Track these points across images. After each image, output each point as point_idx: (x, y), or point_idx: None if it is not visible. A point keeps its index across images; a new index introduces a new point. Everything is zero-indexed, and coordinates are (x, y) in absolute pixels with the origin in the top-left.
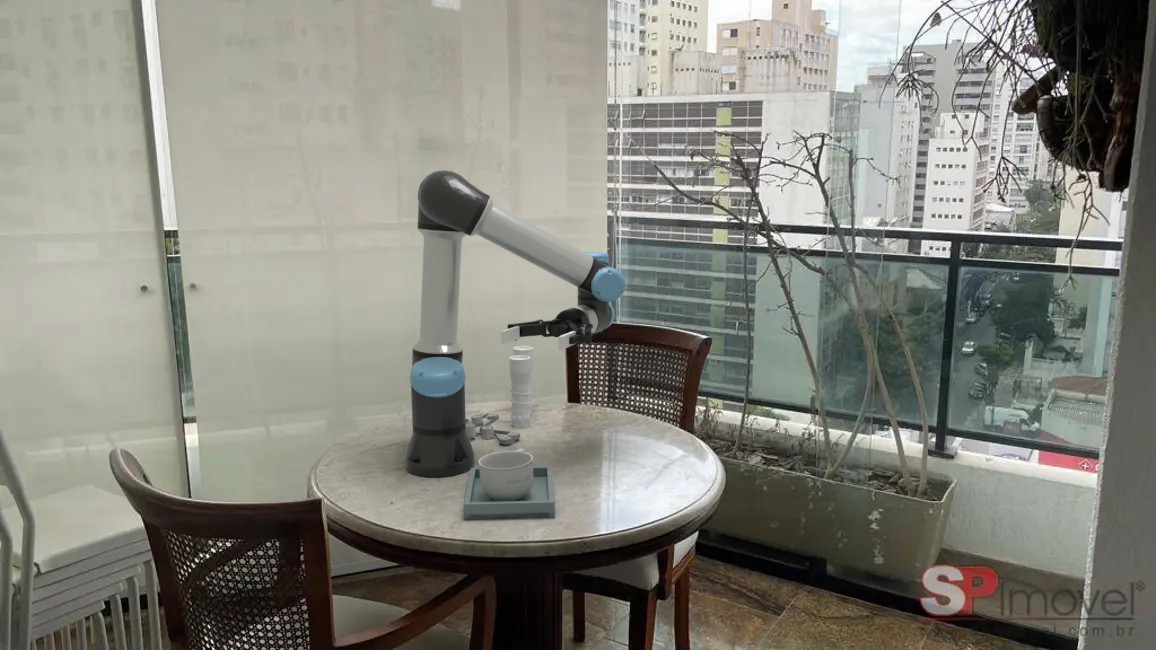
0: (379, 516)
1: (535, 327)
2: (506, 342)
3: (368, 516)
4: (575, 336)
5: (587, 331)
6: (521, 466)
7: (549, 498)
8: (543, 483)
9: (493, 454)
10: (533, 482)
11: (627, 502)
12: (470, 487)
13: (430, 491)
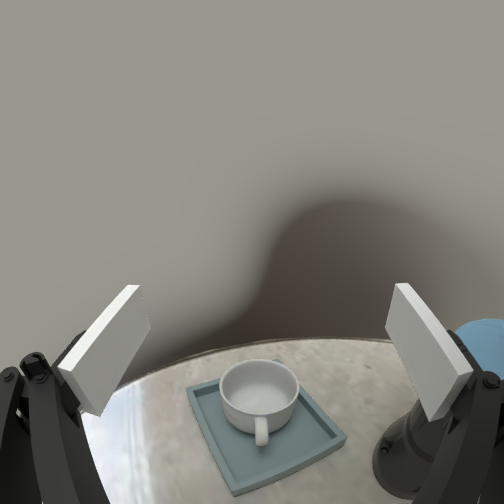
0: (351, 346)
1: (433, 496)
2: (390, 335)
3: (358, 343)
4: (73, 346)
5: (10, 371)
6: (226, 371)
7: (193, 395)
8: (231, 463)
9: (292, 400)
10: (247, 462)
11: (114, 445)
12: (300, 390)
13: (360, 401)
